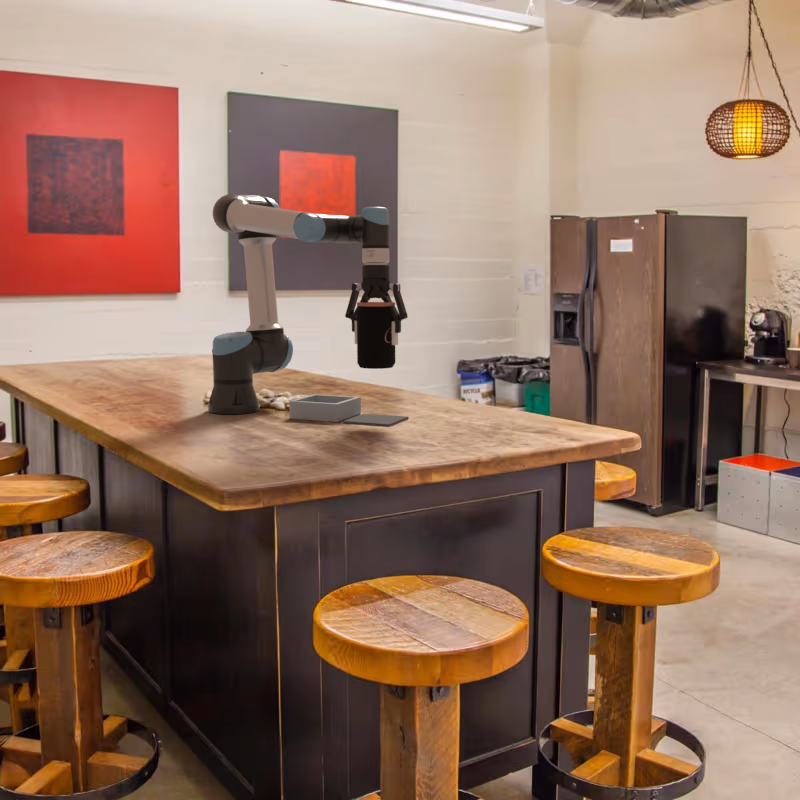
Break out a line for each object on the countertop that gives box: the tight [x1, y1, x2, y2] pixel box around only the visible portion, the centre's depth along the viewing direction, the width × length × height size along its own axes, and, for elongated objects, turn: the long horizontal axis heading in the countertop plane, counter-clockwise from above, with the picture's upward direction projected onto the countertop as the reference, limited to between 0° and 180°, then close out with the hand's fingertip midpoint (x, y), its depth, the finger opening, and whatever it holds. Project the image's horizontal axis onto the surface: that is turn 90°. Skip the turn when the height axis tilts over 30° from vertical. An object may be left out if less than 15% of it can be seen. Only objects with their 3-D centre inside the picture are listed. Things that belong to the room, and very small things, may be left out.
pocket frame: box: [288, 393, 362, 423], centre depth 267 cm, size 15×15×5 cm
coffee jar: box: [356, 301, 396, 370], centre depth 256 cm, size 11×11×18 cm
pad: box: [342, 413, 409, 427], centre depth 259 cm, size 14×14×1 cm
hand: (376, 344), depth 256 cm, fingers closed on coffee jar, 11 cm apart
